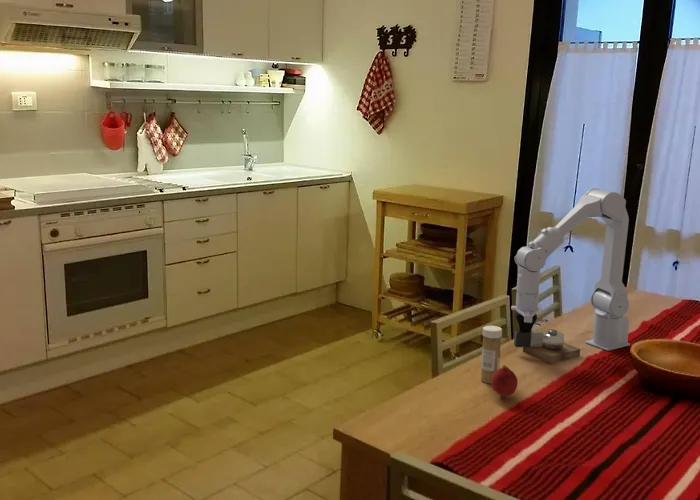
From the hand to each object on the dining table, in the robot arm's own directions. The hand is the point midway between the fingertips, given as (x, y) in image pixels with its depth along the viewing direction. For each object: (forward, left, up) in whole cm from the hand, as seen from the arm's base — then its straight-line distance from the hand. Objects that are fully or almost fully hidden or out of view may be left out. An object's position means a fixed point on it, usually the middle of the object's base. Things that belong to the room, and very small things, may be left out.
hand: (524, 340), depth 188 cm
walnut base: (-5, +5, -3) cm, 8 cm away
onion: (+26, +20, -4) cm, 33 cm away
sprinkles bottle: (+22, +11, -4) cm, 24 cm away
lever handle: (-2, +3, -1) cm, 4 cm away
